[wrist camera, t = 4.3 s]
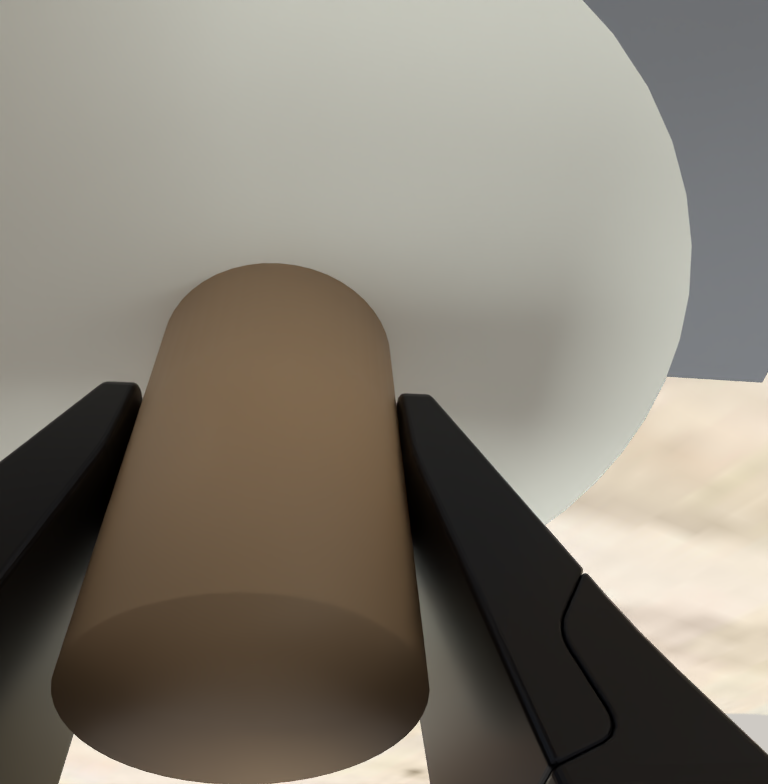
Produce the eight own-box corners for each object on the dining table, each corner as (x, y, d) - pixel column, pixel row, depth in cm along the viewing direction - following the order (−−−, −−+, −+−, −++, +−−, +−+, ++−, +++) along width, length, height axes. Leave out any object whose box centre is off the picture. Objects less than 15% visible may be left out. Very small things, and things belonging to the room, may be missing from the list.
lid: (830, -82, 8) (1522, 40, 3) (558, 582, 15) (656, 902, 10) (-370, -231, 6) (-1990, -375, 2) (-30, 576, 13) (-203, 937, 9)
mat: (966, -3, 18) (977, 0, 17) (756, 375, 25) (761, 382, 25) (583, -52, 17) (587, -50, 16) (483, 358, 24) (484, 365, 24)
